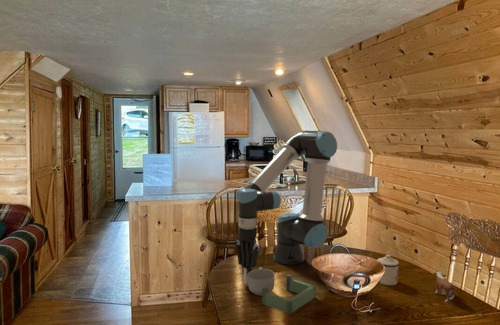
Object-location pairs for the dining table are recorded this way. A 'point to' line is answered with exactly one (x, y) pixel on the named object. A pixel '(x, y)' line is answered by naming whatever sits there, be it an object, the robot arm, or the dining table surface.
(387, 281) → the teacup with lid
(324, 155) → the robot arm
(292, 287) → the tray
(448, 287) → the bull figurine
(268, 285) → the teacup
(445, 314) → the dining table surface
